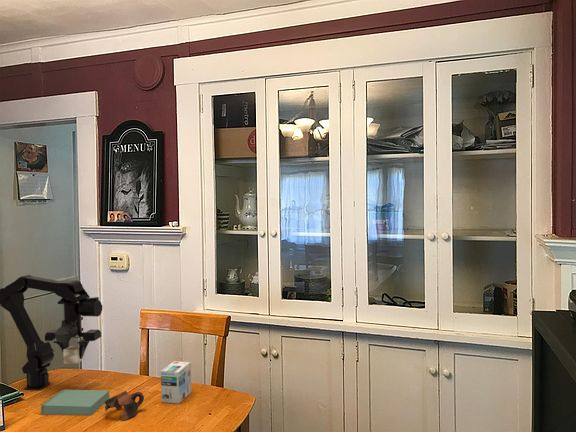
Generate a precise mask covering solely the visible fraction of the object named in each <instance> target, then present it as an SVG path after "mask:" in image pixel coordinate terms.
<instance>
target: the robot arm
mask: <svg viewBox="0 0 576 432" xmlns="http://www.w3.org/2000/svg"><path fill="white" fill-rule="evenodd" d="M28 289H34V290H39V291H45V292H49V293H53V294H55V295H56V296H58V297H60V298H61V299H59V300H58V301H57V304H58V305H63V320H61V326H60V327H59V328H58V329H57V328H56V329H54V328H53V329H51V330H49V331H47V332H46V333H45V334H44V341H45V342H44V341H43V340H42V339H41V337H40V336H39V334H38V332H37V329H36V328H35V326H34V324H33V322H32V319H31V318H30V316H29V314H28V311H27V310H26V307H25V296H24V293H26V292H27V291H28ZM0 306H1V307H2V308H3V309H4V310H6V311H7V312H8V313H9V314H10V316H11V317H12V320H13V322H14V324H15V326H16V327H17V330H18V332H19V334H20V336H21V339H22V340H23V342H24V344H25V345H26V358H27V362H26V363H25V364H24V365H23V366H22V367H21V370H22V373H23V374H24V375H25V374H26V386H24V388H23V389H24V390H42V389H43V388H45V387H47V386H48V385H50V384H51V381H50V378H49V372H48V367H50V366H51V362H53V360H54V356H55V354H54V352H55V350H54V349H53V348H52V345H51V343H50V341H51V342H53V343H54V344H57V345H58V346H59V348H60V350H61V351H62V353H63V350H64V349H66V348H67V347H69V346H70V341H71V339H72V338H73V339H74V338H75V339H77V338H78V339H80V340H79V341H77V344H78V346H79V356H80V359H82V357H83V355H84V356H85V353H86V349H87V347H88V345H89V343H90V342H95V341H96V340H98V339H100V338H101V337H102V332H101V330H100V329H88V330H87V331H84V327H82V321H83V320H84V317H95V318H96V317H99V316H101V314H102V312H103V305H102V301H100V298H99V296H95V297H90V295H89V293H88V292H87V291H86V289H85V288H84V286H83V284H82V282H81V281H80V280H76V279H73V280H72V279H67V280H55V279H51V278H45V277H39V276H33V275H30V274H27V275H22V276H19V277H18V278H17V279H16V280H14V281H13V282H11V283H9V284H8V285H6V286H5V287H2V288H0Z"/></svg>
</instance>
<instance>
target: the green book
mask: <svg viewBox="0 0 576 432" xmlns="http://www.w3.org/2000/svg"><path fill="white" fill-rule="evenodd" d="M108 399H110V390H98V389H97V390H96V389H95V390H94V389H66V388H65V389H64V388H63V389H62V390H61V391H58V392H57V393H56V394H54V395H53V396H51V398H49V399H48V400H46V401H44V403H42V404H41V407H40V408H41V409H40V410H41V413H40V414H41V415H52V416H53V415H55V416H56V415H58V416H59V415H63V416H65V415H66V416H92V415H93V414H94V413H95V412H96V411H98V409H100V408H101V407H102V406H103V405H105V403H104V402H105V401H106V400H108Z"/></svg>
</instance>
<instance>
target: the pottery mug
mask: <svg viewBox="0 0 576 432" xmlns="http://www.w3.org/2000/svg"><path fill="white" fill-rule="evenodd" d="M137 397H138V401H136V399H137ZM144 399H145V396H144V394H143V393H142V392H140V391H136V392H134V393H131V394H129V393H128V391H127V390H124V391H122V392H119V393H117V394H116V395H114V396H112V397H109V399H108V400H106V401H105V402H104V405H105V406H104V410H105V412H107V411H108V410H109V409H112V408H113V409H114V408H115V409H116V410H117V411H120V410H121V409H122V407H123V409H124V410H125V411H124V412H122V413H120V414H119V417H120V419H121V422H124V421H126V420H128V419H130V418H133V417H135V416H137V411H138V408H139V407H140V406H141V405H143V403H144V401H145V400H144Z"/></svg>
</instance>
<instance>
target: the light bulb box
mask: <svg viewBox="0 0 576 432" xmlns="http://www.w3.org/2000/svg"><path fill="white" fill-rule="evenodd" d="M191 364H192V363H191V362H190V361H177V360H173V361H172V362H171V363H169V364H168V365H167V366H166V367H164V368H163V369H161V370H160V388H161V390H160V392H161V393H160V394H161V403H169V404H180V403H181V402H183V401H184V400H185V398H187V397H188V396H189V395H190V394H191V393H192V370H191V369H192V365H191Z"/></svg>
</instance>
